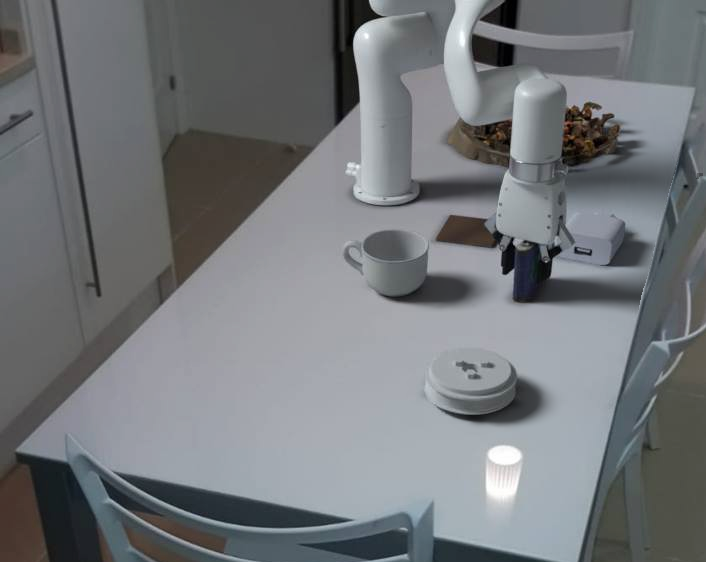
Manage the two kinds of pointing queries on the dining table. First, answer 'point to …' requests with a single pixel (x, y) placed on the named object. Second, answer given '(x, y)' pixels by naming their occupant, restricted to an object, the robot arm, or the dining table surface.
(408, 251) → the teacup
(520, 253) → the dark blue piece
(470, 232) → the board
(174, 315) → the dining table surface
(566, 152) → the food dish
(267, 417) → the dining table surface
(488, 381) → the lid
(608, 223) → the charger
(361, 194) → the robot arm
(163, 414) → the dining table surface
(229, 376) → the dining table surface
